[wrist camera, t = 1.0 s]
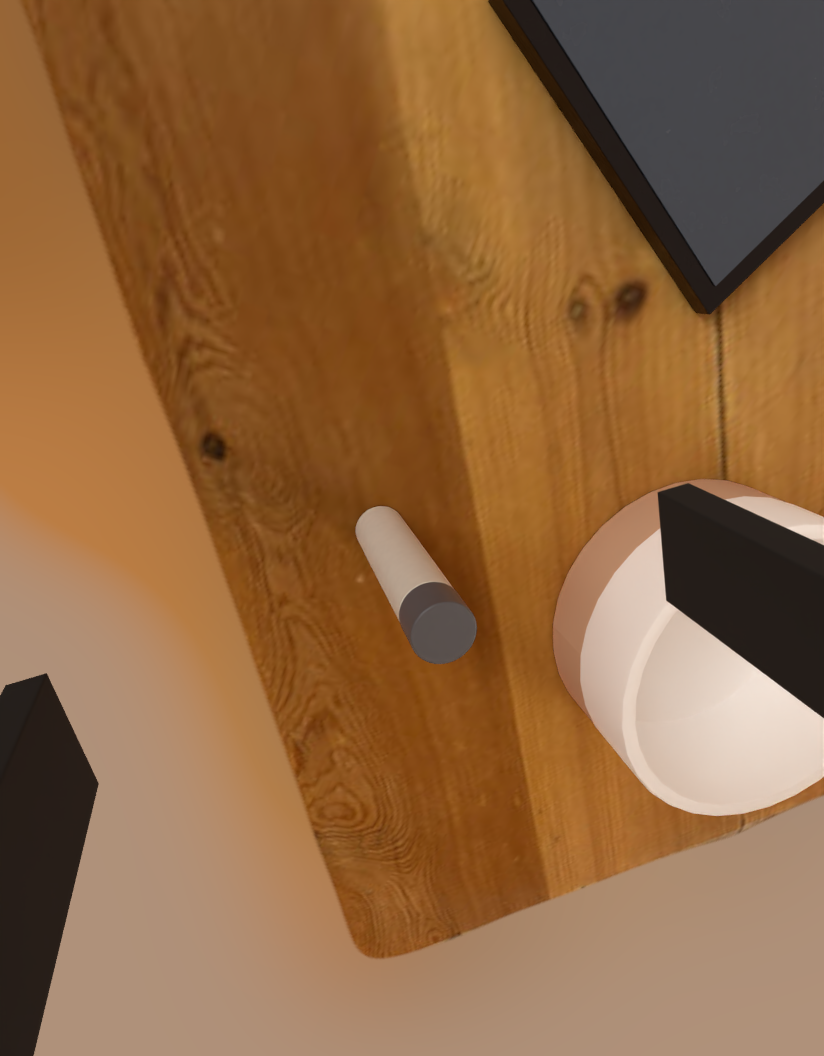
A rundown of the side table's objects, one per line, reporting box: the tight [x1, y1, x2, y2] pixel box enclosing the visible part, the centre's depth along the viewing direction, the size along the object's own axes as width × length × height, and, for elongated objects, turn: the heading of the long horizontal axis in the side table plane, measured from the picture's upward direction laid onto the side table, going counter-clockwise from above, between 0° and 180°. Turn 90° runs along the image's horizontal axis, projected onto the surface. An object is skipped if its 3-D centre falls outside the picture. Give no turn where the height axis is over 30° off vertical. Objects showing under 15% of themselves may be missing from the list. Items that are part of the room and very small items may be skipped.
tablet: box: [489, 0, 824, 314], centre depth 34 cm, size 18×14×1 cm
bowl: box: [553, 479, 824, 816], centre depth 41 cm, size 17×17×8 cm
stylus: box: [356, 506, 477, 664], centre depth 33 cm, size 3×3×12 cm
